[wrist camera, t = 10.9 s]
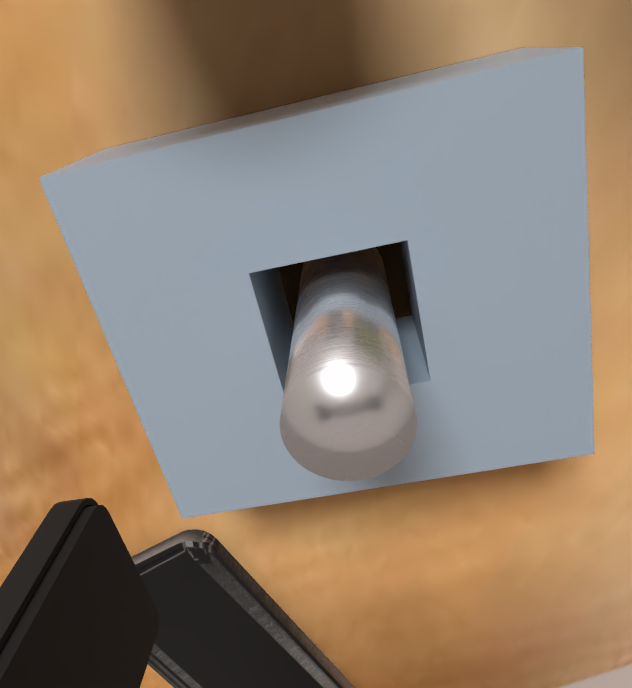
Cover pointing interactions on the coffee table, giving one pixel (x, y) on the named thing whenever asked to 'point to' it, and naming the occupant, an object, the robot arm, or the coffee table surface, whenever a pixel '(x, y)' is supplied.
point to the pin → (346, 372)
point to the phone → (223, 623)
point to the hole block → (342, 237)
